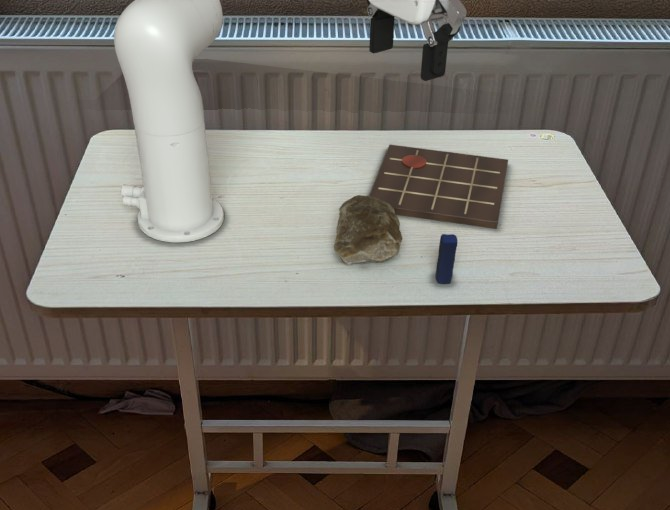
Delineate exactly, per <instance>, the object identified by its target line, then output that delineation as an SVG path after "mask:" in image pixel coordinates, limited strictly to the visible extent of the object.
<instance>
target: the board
mask: <svg viewBox="0 0 670 510" xmlns="http://www.w3.org/2000/svg"><path fill="white" fill-rule="evenodd" d="M508 164H509V159H506V158H498V157H491V156H484V155H483V156H482V155H475V154H468V153H459V152H453V151H443V150H436V149H429V148H422V147H421V148H420V147H412V146H406V145H405V146H404V145H397V144H389V145H388V147H387V150H386V153H385V155H384V157H383V160H382V163H381V165H380V166H379V167H380V168H379V170H378V172H377V175H376V178H375V180H374V183H373V185H372V188H371V190H370V193H369V195H368V196H371V197H375V198H377V199H379V200H381V201H385V202H387V203H389V204H390V206H391V207H392V208H393V209H394V211H395V214H396V215H397V216H404V217H409V218H416V219H417V218H418V219H423V220H425V219H426V220H431V221H438V222H446V223H452V224H459V225H460V224H461V225H467V226H473V227H481V228H488V229H495V230H496V229H498V224H499V219H500V218H499V217H500V212H501V208H502V207H501V206H502V200H503V194H504V187H505V182H506V176H507V172H508V171H507V170H508Z"/></svg>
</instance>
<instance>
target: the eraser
mask: <svg viewBox="0 0 670 510" xmlns="http://www.w3.org/2000/svg"><path fill="white" fill-rule="evenodd" d="M457 247H458V236H457V235H456V234H452V233H451V234H446V233H442V234H441V235H440V239H439V245H438V253H437V254H438V255H437V259H436V267H435V280H436V283H437V284H438V285H449V284H451V282H452V279H453V273H454V267H455V262H456V254H457Z"/></svg>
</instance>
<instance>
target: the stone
mask: <svg viewBox="0 0 670 510" xmlns="http://www.w3.org/2000/svg"><path fill="white" fill-rule="evenodd" d="M338 211H339V212H338V215H339V216H338V220H337V225H336V232H335V233H336V235H335V239H334V245H333V250H334V251H335V253H336V254H337V255H338V256H339V258H340V259H341V261H342V262H343V263H345V264H346V265H352V264H356V265H357V264H358V265H359V264H367V263H384V262H386V261H387V260H388V259H391V258H392V257H395V256H397V255H399V254H400V249H401V243H402V241H403V236H402V232H401V229H400V227H401V226H400V225H401V224H400V223H401V222H400V219H399V217H398V215H396V214H395V211H394V209H393V208H392V207H391V206H390V204H389V203H387V202H385V201H381V200H379V199H377V198H375V197H371V196H369V195H361V194H357V195H354V196H353V197H352V196H351V198H349V199H347V200H346V201H344V202H343V203H342V204H341V206H339V208H338Z"/></svg>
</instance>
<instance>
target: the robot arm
mask: <svg viewBox="0 0 670 510" xmlns="http://www.w3.org/2000/svg"><path fill="white" fill-rule="evenodd" d="M366 3H367V9H366V11H367V15H368V17H369V18H370V19H369V21H370V23H369V47H368V50H369V51H368V52H370V53H372V54H377V53H380V52H385V51H389V50H391V49H393V48H394V37H395V20H396V19H399V20H401V21H403V22H405V23H408V24H410V25H413V26H417V25H421V28H422V30H423V34H424V37H425V40H426V42H427V43H424V44H422V45H423V46H422V55H421V67H420V80H422V81H424V82H428V81H431V80H434V79H438V78H441V77H443V76H445V74H446V67H447V58H448V49H449V43H451V42H452V41H454V37H455V36H457V34H458V33H460V30H461V26H462V25H463V23H464V21H465V19H466V17H467V13H468V11H467V8H466V6H465V5H464V4H463V2H462V1H461V0H366ZM223 14H224V13H223V8H222V4H221V1H220V0H133V1H131V3H130V4H128V5H127V6H126V8H124V10H123V11H122V12H121V14H120V15H119V17H118V19H117V21H116V24H115V28H114V33H113V44H114V50H115V54H116V57H117V58H116V59H117V61H118V63H119V66H120V69H121V72H122V74H123V75H122V76H123V79H124V81H125V84H126V89H127V93H128V98H129V103H130V109H131V116H132V123H133V127H134V133H135V134H134V135H135V139H136V145H137V147H136V148H137V153H138V159H139V167H140V173H141V180H142V187H141V186H137V185H131V184H126V183H124V184H122V185H121V190H120V194H121V197H122V205H124V206H129V207H137V209H139V211H138V213H137V224H138V227H139V230H141V232H142V233H144V234H145V235H146V236H148V237H149V238H151V239H154V240H157V241H160V242H165V243H177V244H179V243H189V242H194V241H195V242H196V241H198V240H199V241H200V240H202V239H205V238H207V237H209V236H210V235H213V234H214V233H215V232H217V231H218V230H219V229H220V227H221V226H222V225H223V224H224V220H225V217H224V216H225V215H224V213H225V212H224V209H223V206H222V204H221V203H219V202H218V201H217V200H216V199H214V198H213V197H212V187H211V177H210V165H209V155H208V154H209V153H208V143H207V132H206V120H205V119H206V118H205V111H204V103H203V97H202V93H201V90H200V87H199V84H198V82H197V80H196V78H195V74H194V71H193V63H194V60H196V59H197V58H198V56H199V55H200V54H202V53H203V52H204V51H205V50H206V49H207V48H209V46H210V45H211V44H212V43H213V42H214V41H215V40H216V39H217V37H218V36H219V34H220V33H221V29H222V27H223V20H224V19H223V18H224V15H223ZM395 18H396V19H395ZM435 22H437V26H438V28H437V29H436V30H435V27H434V24H433V23H435Z"/></svg>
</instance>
